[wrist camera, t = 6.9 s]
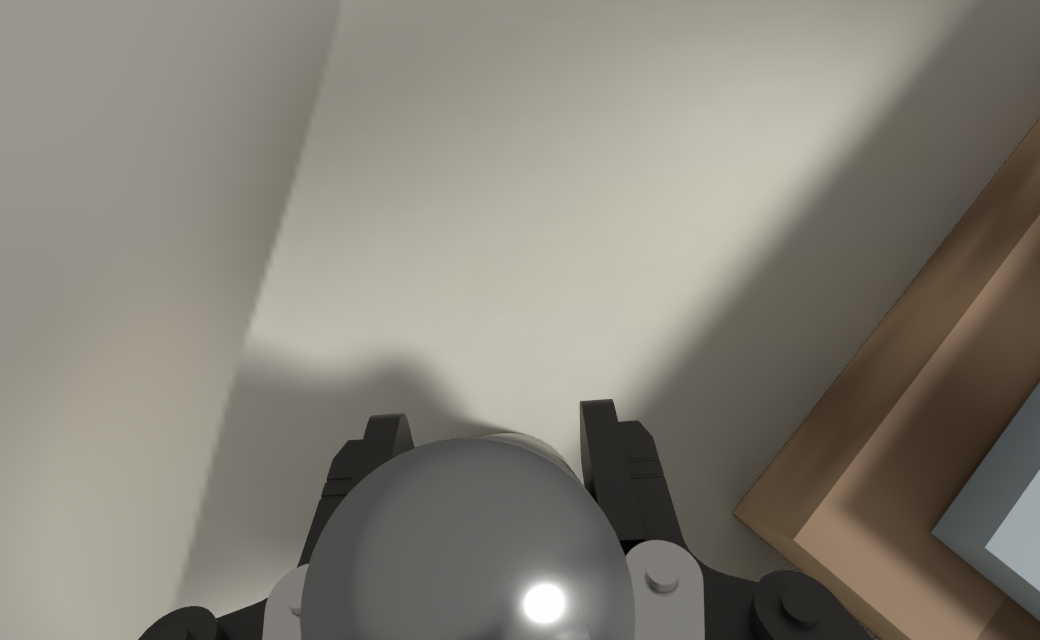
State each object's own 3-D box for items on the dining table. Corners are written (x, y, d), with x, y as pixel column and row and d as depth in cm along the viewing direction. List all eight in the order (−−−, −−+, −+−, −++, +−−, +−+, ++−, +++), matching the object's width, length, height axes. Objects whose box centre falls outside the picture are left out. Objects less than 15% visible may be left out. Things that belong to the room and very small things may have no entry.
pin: (504, 405, 17) (454, 372, 7) (606, 495, 16) (705, 594, 7) (415, 508, 17) (231, 625, 7) (517, 606, 16) (478, 888, 6)
